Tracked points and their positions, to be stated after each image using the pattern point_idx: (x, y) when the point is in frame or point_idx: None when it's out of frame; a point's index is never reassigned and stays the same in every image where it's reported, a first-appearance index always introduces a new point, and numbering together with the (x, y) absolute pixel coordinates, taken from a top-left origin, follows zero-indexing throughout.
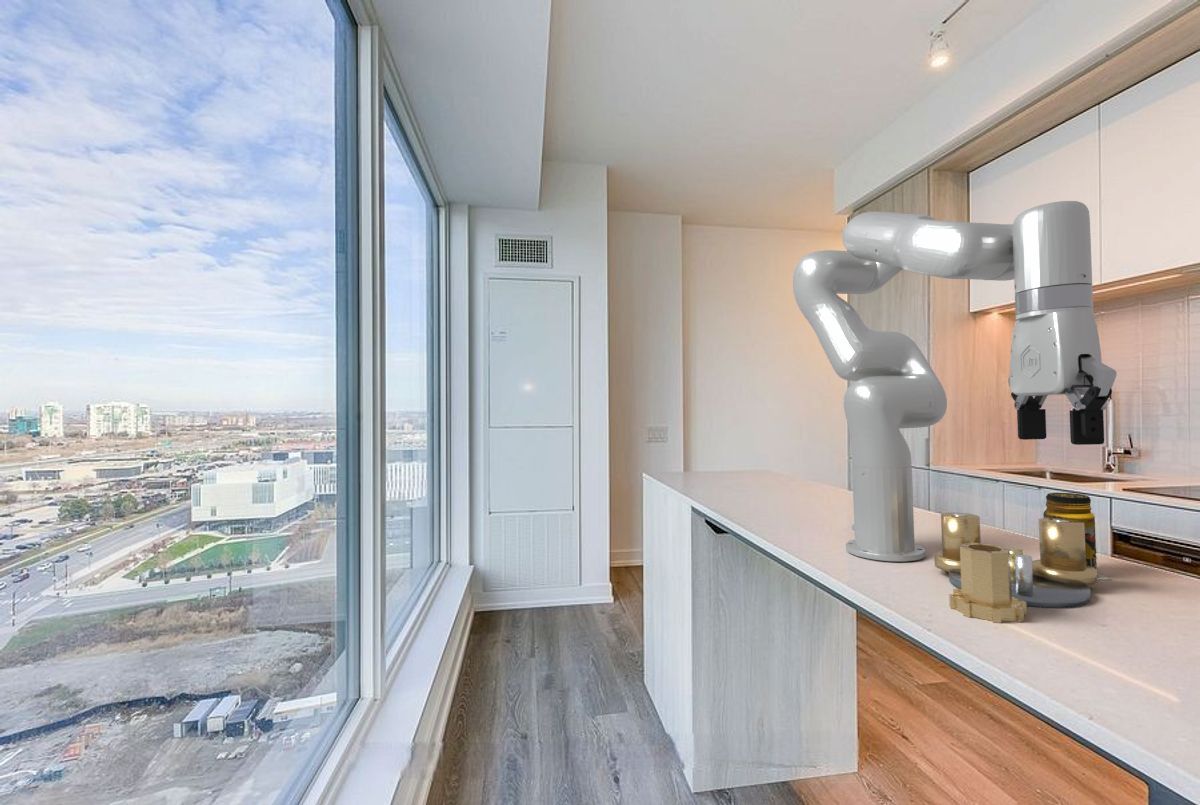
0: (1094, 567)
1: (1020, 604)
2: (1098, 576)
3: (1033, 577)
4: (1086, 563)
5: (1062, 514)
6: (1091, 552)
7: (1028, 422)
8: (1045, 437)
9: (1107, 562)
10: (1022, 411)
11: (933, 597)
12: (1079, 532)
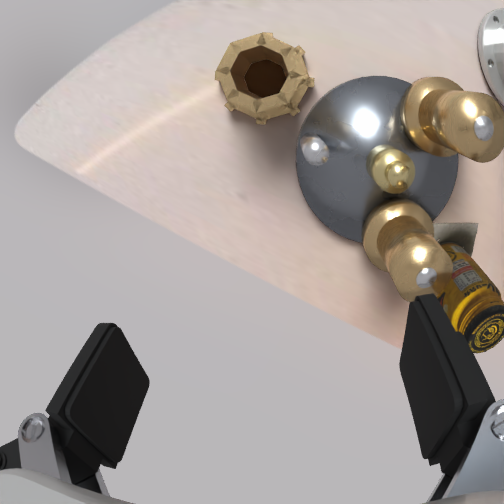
0: None
1: (245, 113)
2: None
3: (394, 194)
4: None
5: (467, 301)
6: None
7: (430, 374)
8: (400, 366)
9: None
10: (455, 406)
11: (312, 28)
12: (394, 282)
